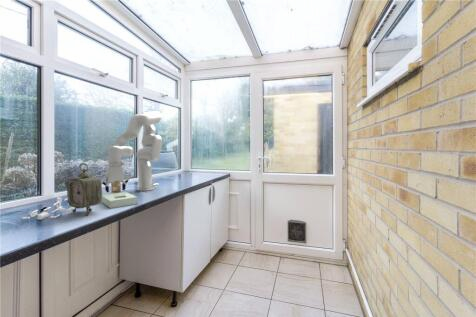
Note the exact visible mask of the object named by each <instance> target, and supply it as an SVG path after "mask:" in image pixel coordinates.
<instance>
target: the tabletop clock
mask: <svg viewBox="0 0 476 317" xmlns="http://www.w3.org/2000/svg"><path fill="white" fill-rule="evenodd" d="M82 165H84V166H85V167H86V168H82V169H81V166H82ZM78 169H79V171H81V172H80V173H78V175H77V177H74V178H69V179H67V186H66V191H67V192H66V195H67V198H68V200H67V202H68V203H67V204H68V206H70V207H73V208H75V209H71V212H72V213H76V212H77V209H84V208H85V210H86V211H85V213H84V214H85V216H88V215H89V214H90V213H91V212H92V211H93V209H92V208H91V207H93V206H97V205H100V203H102V202H101V201H102V195H103V188H102V185H103V184H102V182H101V179H99V178H97V177H93V176H91V175H90V173H89V172H88V170H89V165H88V164H87V163H84V162H82V163H80V164H79V168H78ZM89 212H90V213H89Z"/></svg>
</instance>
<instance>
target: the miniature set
mask: <svg viewBox="0 0 476 317" xmlns="http://www.w3.org/2000/svg"><path fill="white" fill-rule="evenodd" d="M62 199H63V198H62V196H57V197H56V202H54V203H53V206H54V207H55V206H56V207H55V210H53V211H51V213H52V214H53V213H54V212H56V211H61V212H66V211H67V212H72V210H73V209H75V207H72V206H70V207H69V208H64V206H62ZM63 201H64V202H65V201H68V197H67V198H64V200H63ZM66 205H67V206H69V203H67V204H66ZM51 208H52V207H51V206H49V207H48V206H44V207H42V208H40V213H38V211H39V209H36V210H33V211H32V212H30V216H23V217H21V220H30V219H31V217H32V218H33V217H36V216H37V220H38V221H39V220H43V219H46V218H48V217H49V216H50V213H49V212H47V211H48V210H49V209H51ZM60 216H61V214H60V213H59V214H57V215H52V216H50V219H53V218H54V219H56V218H58V217H60Z"/></svg>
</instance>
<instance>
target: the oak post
mask: <svg viewBox="0 0 476 317" xmlns="http://www.w3.org/2000/svg"><path fill="white" fill-rule="evenodd" d="M110 184H111V185H110V186H111V187H110V189H111V190H110V191H111V193H110V194H113V193H121V192H122V190H121V189H122V187H121V186H122V185H121V182H120V181H113V183H110Z"/></svg>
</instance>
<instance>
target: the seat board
mask: <svg viewBox="0 0 476 317" xmlns="http://www.w3.org/2000/svg"><path fill="white" fill-rule="evenodd" d="M100 203H102V204H104V205H105V206H106V207H108V208H109V209H115V208H116V209H117V208H120V207H127V206H132V205H133V206H134V205H138V196H136V195H135V194H134V195H133V194H131V193H129V192H127V191H123V192H122V191H121V193H113V194H111V193H108V194H106V193H105V194H102V201H101V202H100Z"/></svg>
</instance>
